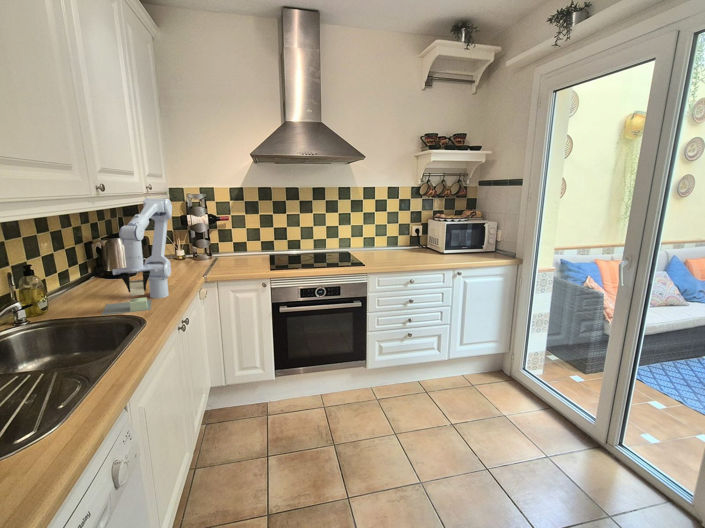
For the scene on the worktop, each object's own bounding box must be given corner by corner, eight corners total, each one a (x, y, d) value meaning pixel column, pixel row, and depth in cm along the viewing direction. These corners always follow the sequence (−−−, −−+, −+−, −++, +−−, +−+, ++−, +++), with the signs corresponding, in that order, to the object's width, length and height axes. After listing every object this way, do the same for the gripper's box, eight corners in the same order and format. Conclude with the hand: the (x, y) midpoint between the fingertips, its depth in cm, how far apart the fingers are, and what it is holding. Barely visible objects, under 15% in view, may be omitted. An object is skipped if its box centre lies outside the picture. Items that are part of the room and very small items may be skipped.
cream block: (131, 293, 137) (130, 280, 136) (144, 291, 139) (143, 279, 138) (130, 295, 133) (129, 283, 132) (144, 294, 135) (142, 282, 134)
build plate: (106, 305, 142) (106, 304, 141) (151, 300, 149) (151, 299, 149) (101, 317, 129) (101, 315, 129) (150, 311, 136) (150, 309, 136)
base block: (131, 307, 138) (130, 299, 138) (147, 305, 141) (146, 297, 140) (130, 311, 134) (129, 302, 133) (147, 309, 136) (146, 301, 136)
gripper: (109, 259, 126) (114, 295, 129) (155, 257, 133) (158, 291, 136) (112, 256, 132) (116, 291, 135) (155, 254, 139) (158, 287, 142)
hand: (137, 290), depth 136 cm, fingers closed on cream block, 4 cm apart
